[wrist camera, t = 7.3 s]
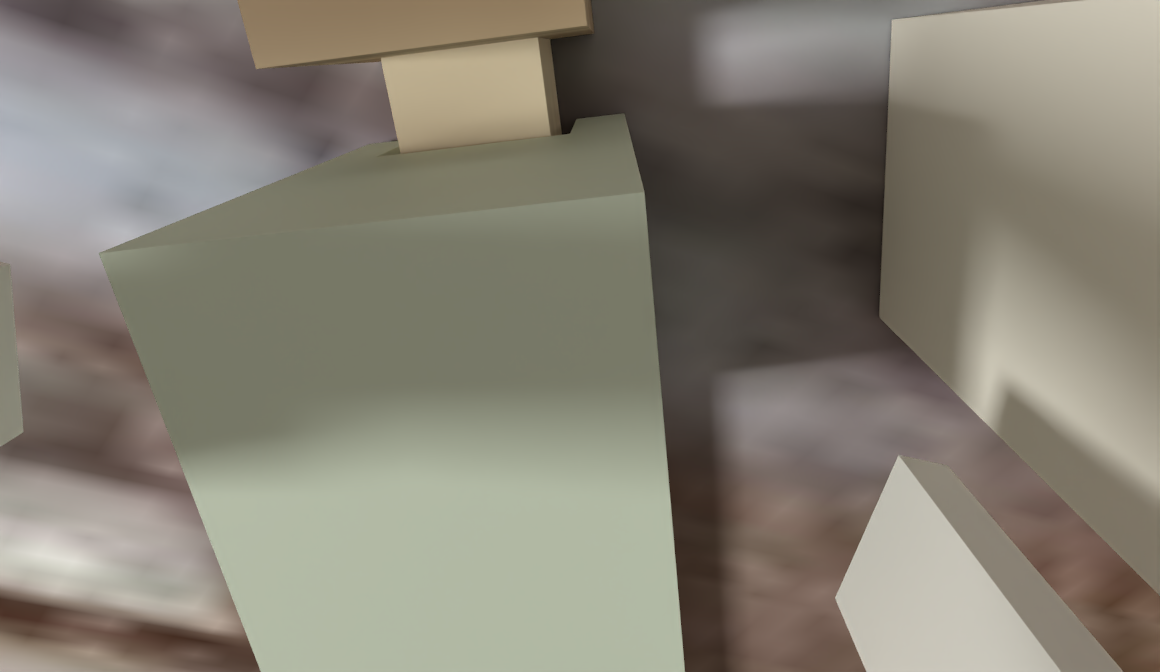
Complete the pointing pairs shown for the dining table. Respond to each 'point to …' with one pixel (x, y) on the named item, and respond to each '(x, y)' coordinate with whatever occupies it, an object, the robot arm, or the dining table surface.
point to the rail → (433, 59)
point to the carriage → (424, 407)
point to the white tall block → (1037, 240)
